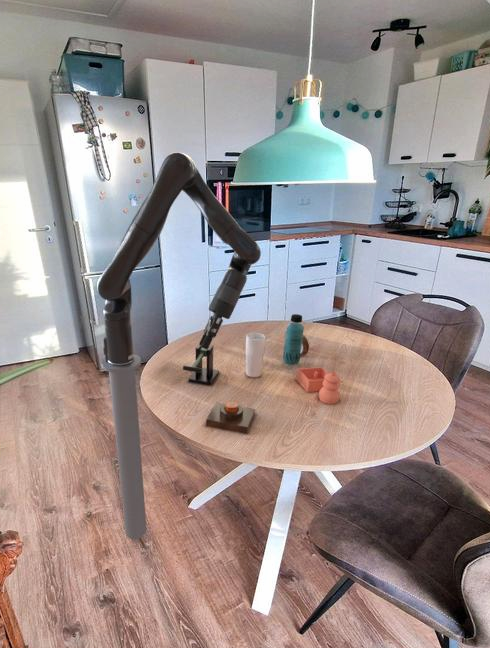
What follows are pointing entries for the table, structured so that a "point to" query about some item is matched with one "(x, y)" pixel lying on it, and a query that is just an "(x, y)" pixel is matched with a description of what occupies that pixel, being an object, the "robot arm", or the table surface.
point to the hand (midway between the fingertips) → (202, 347)
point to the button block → (231, 418)
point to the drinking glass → (254, 353)
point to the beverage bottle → (293, 341)
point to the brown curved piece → (303, 345)
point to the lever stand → (205, 369)
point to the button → (231, 407)
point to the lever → (197, 362)
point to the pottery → (320, 383)
